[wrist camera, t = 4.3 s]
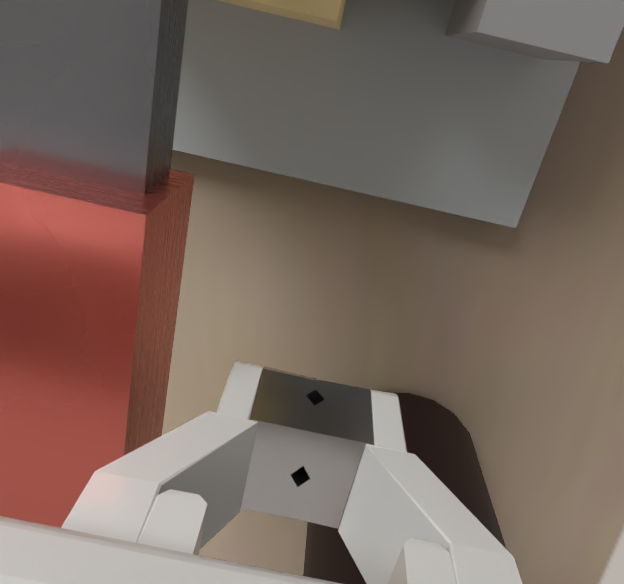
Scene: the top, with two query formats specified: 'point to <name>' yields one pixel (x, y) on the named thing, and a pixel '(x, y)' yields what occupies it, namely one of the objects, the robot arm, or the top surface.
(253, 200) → the top surface
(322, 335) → the top surface
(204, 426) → the robot arm
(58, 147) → the lever
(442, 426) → the bottle
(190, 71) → the valve assembly
